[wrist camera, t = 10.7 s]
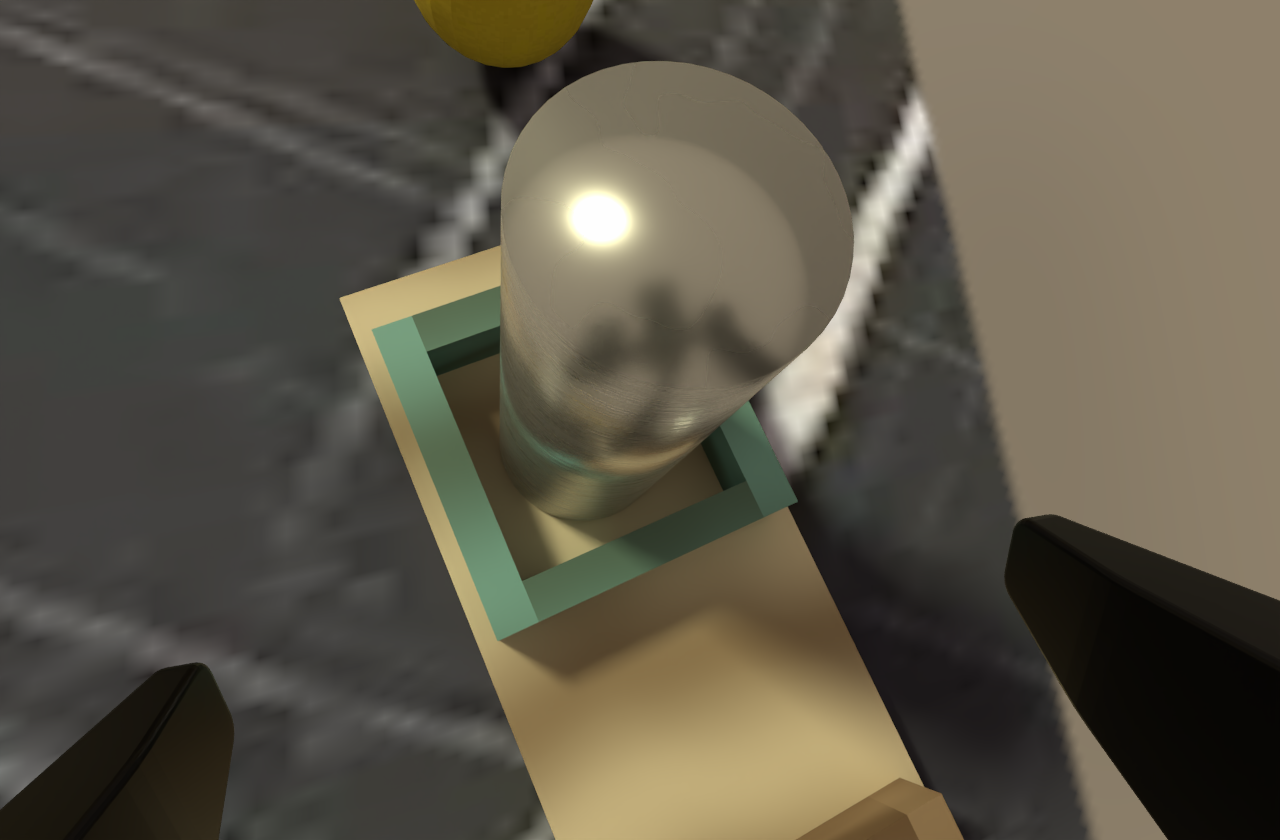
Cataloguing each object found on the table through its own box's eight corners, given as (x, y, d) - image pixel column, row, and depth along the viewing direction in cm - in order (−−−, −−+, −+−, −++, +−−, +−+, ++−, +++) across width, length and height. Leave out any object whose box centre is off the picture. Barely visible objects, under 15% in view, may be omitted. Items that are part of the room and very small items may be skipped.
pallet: (1053, 1085, 20) (1146, 1164, 17) (749, 1320, 17) (797, 1458, 14) (632, 217, 24) (650, 161, 21) (346, 312, 22) (322, 264, 19)
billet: (669, 514, 21) (880, 380, 9) (503, 526, 20) (511, 396, 8) (653, 359, 22) (825, 67, 10) (495, 365, 21) (491, 52, 9)
